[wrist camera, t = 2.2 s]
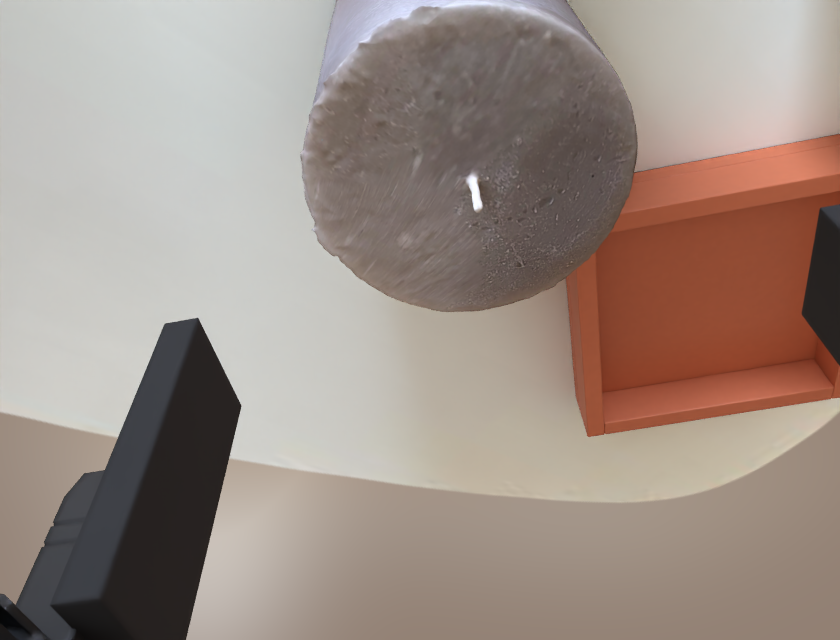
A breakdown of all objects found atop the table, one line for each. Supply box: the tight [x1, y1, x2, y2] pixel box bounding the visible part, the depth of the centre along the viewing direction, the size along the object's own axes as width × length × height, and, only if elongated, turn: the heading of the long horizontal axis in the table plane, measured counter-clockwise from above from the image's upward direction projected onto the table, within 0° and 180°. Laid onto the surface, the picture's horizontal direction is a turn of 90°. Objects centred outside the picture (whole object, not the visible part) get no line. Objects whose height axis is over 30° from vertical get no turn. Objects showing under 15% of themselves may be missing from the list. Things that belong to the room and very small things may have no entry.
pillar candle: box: [301, 0, 637, 312], centre depth 25 cm, size 10×10×15 cm
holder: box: [566, 134, 840, 437], centre depth 38 cm, size 15×15×4 cm
